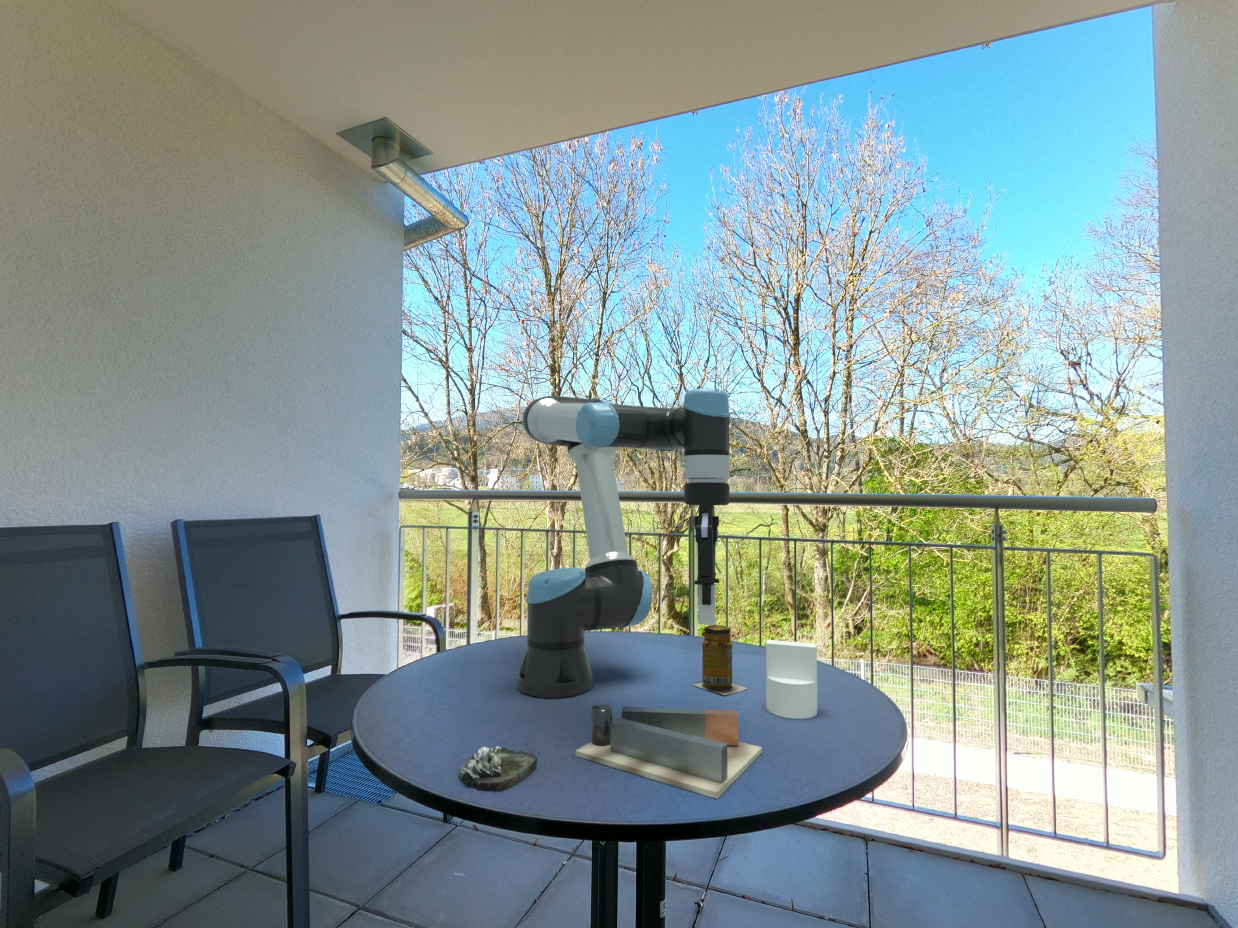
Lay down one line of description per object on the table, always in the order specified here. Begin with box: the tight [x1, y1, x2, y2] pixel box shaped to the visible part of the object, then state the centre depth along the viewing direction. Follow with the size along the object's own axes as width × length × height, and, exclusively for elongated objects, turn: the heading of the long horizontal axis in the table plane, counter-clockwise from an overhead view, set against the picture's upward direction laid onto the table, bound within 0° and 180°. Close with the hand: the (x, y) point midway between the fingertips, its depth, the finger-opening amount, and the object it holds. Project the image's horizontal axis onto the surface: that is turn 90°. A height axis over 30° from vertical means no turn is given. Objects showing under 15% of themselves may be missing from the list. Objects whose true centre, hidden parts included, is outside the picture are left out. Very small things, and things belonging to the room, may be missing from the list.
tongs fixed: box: [591, 703, 727, 784], centre depth 89 cm, size 23×4×5 cm, turn 57°
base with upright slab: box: [765, 639, 818, 720], centre depth 112 cm, size 9×9×12 cm
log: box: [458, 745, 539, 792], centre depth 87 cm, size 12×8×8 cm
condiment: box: [693, 624, 748, 696], centre depth 124 cm, size 7×8×12 cm
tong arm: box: [620, 706, 739, 745], centre depth 95 cm, size 18×2×5 cm, turn 85°
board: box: [575, 740, 763, 800], centre depth 92 cm, size 23×17×1 cm
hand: (707, 623), depth 101 cm, fingers closed
